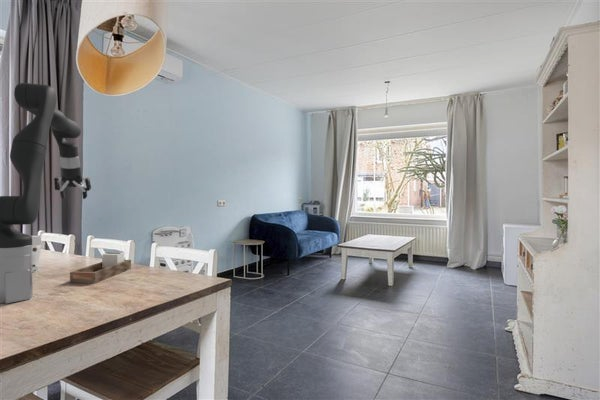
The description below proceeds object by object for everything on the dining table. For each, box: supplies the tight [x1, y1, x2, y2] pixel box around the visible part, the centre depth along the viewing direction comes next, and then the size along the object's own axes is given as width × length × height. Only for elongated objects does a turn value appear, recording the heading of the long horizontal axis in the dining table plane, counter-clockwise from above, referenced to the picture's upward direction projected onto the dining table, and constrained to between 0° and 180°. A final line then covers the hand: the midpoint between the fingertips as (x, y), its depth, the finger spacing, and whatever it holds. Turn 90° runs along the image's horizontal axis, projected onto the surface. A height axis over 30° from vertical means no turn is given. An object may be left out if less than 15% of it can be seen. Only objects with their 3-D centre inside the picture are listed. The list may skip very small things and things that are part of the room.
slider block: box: [101, 251, 125, 268], centre depth 146 cm, size 5×7×6 cm
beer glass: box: [30, 235, 42, 273], centre depth 143 cm, size 7×7×15 cm
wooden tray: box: [69, 259, 132, 284], centre depth 139 cm, size 24×10×4 cm, turn 177°
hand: (74, 198), depth 160 cm, fingers open, 8 cm apart
